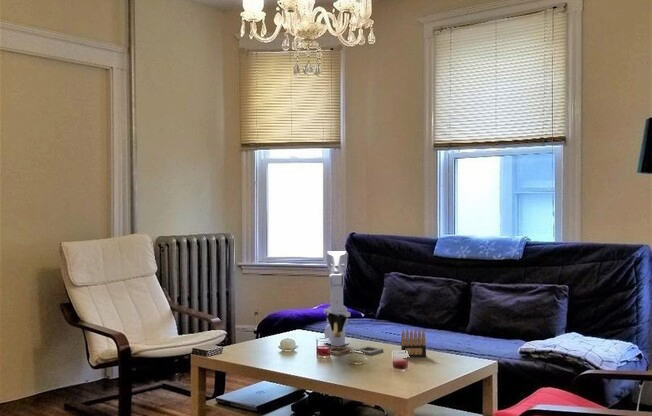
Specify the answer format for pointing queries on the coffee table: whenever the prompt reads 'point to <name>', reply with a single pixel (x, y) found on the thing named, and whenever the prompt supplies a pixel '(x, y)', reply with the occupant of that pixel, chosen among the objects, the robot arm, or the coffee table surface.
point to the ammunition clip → (415, 349)
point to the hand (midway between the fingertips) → (337, 331)
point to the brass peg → (336, 330)
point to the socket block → (374, 350)
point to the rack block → (341, 351)
